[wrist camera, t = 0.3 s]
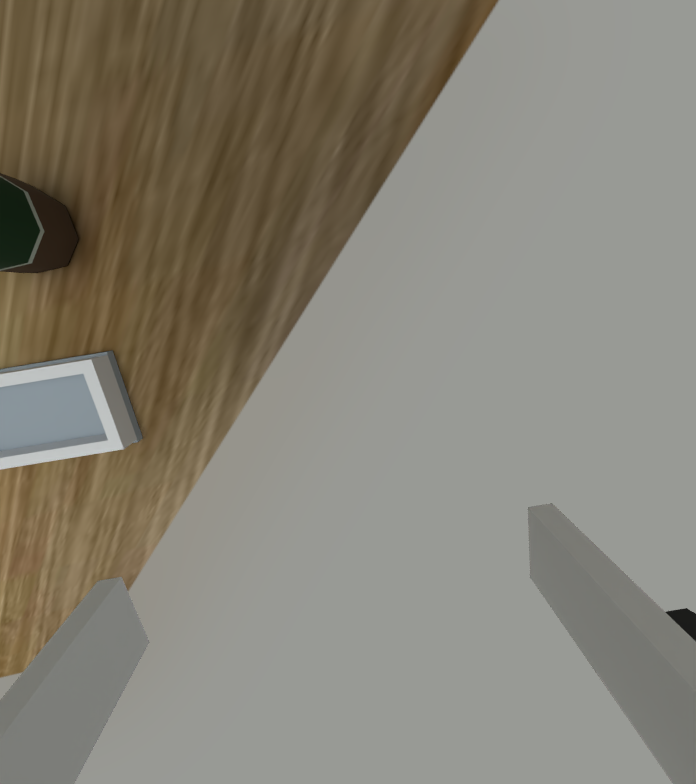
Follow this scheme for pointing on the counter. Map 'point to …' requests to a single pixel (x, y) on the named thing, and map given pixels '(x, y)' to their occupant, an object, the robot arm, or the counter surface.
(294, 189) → the counter surface
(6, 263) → the beer bottle
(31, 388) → the tray
